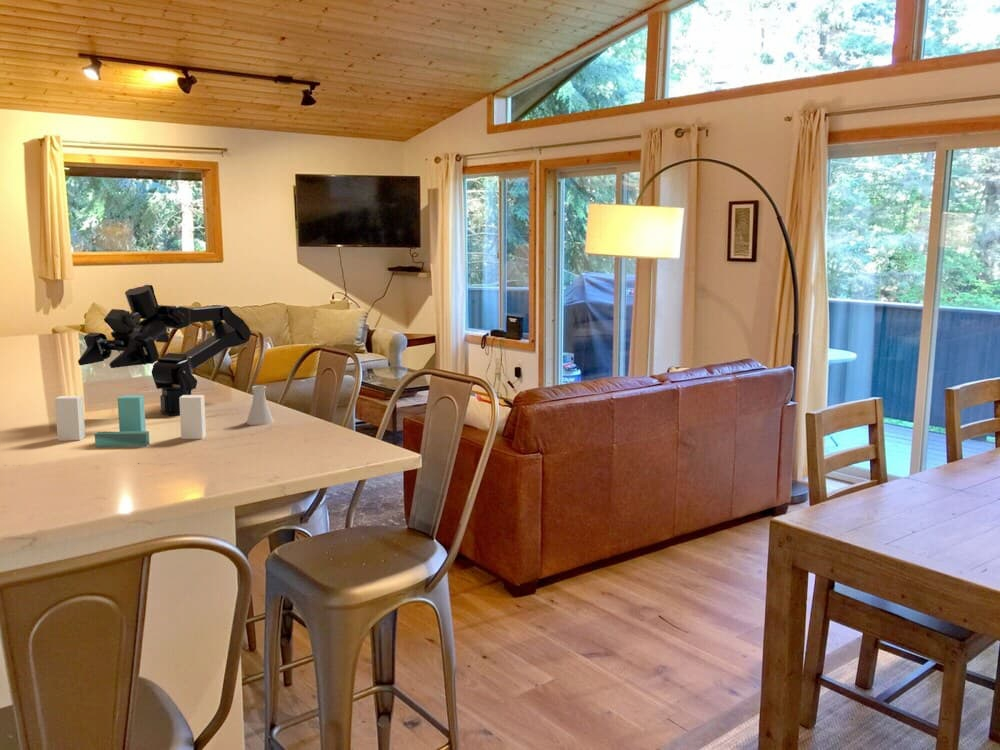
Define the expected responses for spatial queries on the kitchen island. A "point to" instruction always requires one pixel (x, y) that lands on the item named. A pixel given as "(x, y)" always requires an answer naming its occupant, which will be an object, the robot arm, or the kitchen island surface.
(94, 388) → the kitchen island surface
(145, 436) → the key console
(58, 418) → the grey key
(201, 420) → the grey key
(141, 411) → the teal key
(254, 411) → the flask
